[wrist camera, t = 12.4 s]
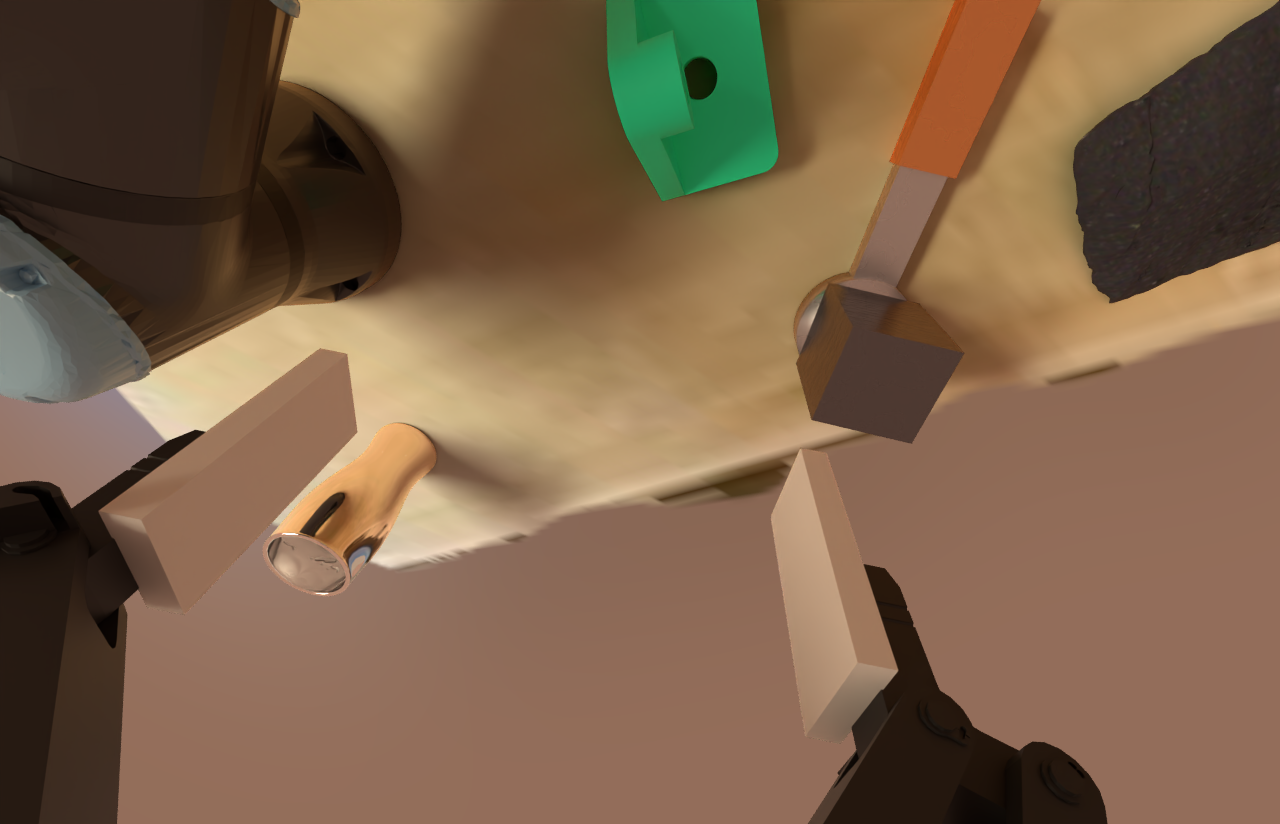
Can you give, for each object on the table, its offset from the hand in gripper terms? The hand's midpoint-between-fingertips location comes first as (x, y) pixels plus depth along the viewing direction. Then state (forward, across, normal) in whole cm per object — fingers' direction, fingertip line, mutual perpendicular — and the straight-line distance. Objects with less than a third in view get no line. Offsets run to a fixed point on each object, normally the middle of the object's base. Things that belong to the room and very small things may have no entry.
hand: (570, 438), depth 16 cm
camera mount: (+27, +2, +9) cm, 29 cm away
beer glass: (+27, -19, -26) cm, 42 cm away
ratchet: (+26, +16, +4) cm, 31 cm away
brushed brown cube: (+24, +16, -4) cm, 30 cm away
